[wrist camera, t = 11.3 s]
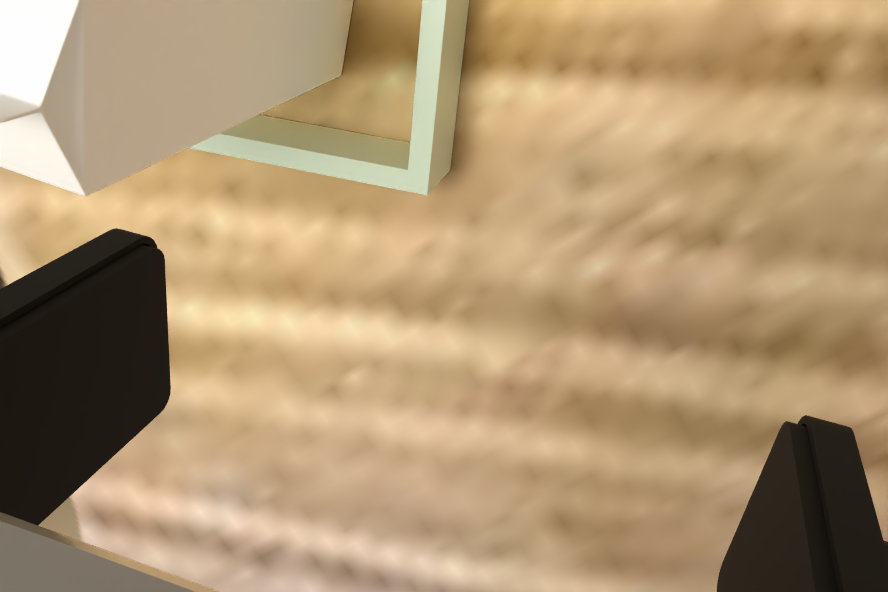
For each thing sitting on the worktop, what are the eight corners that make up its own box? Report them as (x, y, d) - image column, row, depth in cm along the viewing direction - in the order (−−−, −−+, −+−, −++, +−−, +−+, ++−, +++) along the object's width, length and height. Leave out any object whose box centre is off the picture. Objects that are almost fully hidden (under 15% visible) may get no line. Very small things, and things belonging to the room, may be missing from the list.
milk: (245, -88, 36) (-255, -96, 17) (365, -53, 35) (-17, -20, 16) (232, 44, 39) (-206, 164, 20) (343, 79, 38) (-2, 239, 19)
